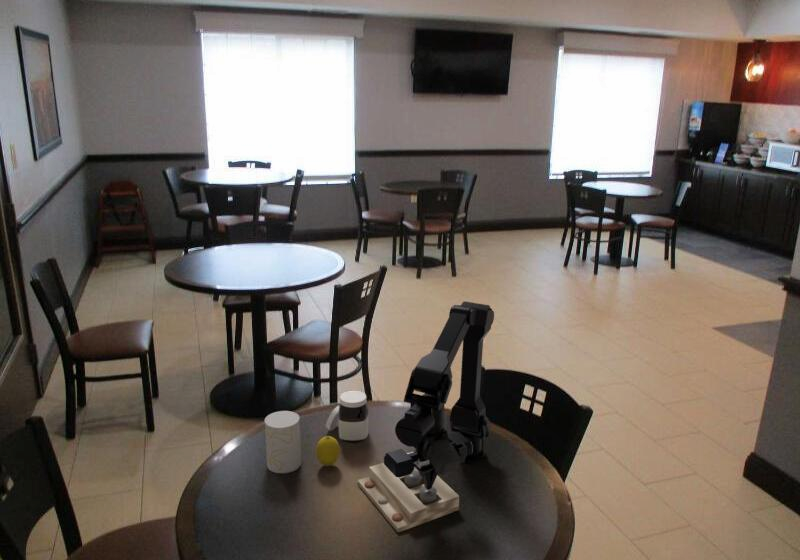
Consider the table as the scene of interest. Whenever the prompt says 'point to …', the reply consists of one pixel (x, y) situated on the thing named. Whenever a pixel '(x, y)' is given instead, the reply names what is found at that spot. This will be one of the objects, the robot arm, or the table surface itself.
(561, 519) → the table surface
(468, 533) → the table surface
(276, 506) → the table surface
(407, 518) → the button board
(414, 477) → the button middle
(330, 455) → the lemon
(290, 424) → the white cylinder
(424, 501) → the button
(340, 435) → the spread jar
